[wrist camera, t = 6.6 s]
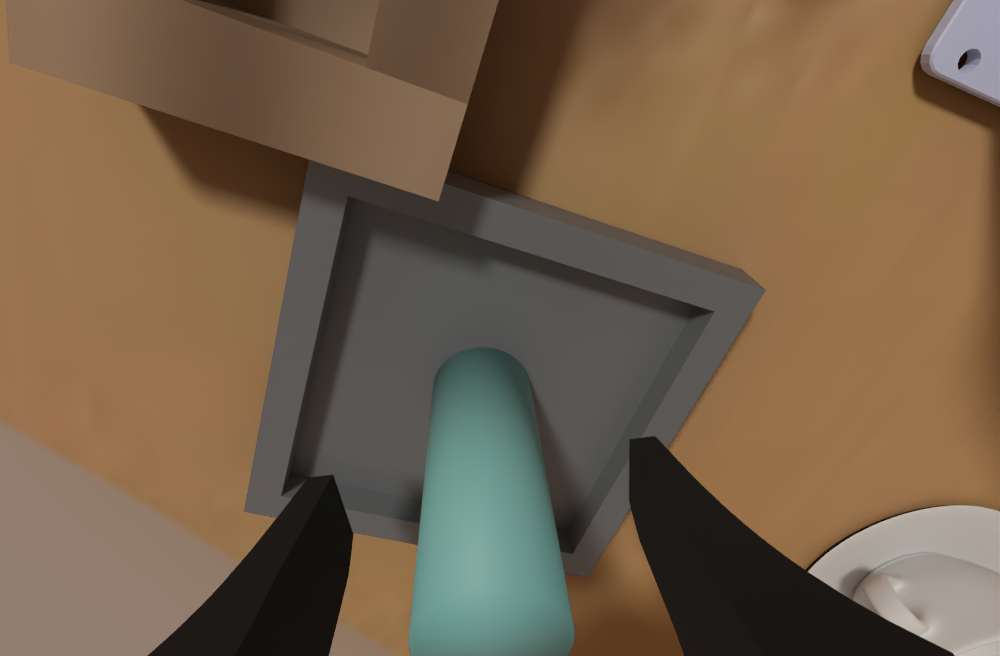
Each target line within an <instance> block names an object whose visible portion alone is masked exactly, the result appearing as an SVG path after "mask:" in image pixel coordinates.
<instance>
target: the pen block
mask: <svg viewBox="0 0 1000 656" xmlns="http://www.w3.org/2000/svg"><path fill="white" fill-rule="evenodd" d="M498 2H499V0H6V9H7V27H8V45H9V63H12V64H15V65H19V66H22V67H25V68H28V69H31V70H34V71H37V72H40V73H43V74H46V75H49V76H53V77H56V78H59V79H62V80H65V81H68V82H71V83H74V84H77V85H80V86H83V87H87V88H90V89H93V90H96V91H99V92H102V93H105V94H108V95H111V96H114V97H117V98H121V99H124V100H127V101H130V102H133V103H136V104H139V105H142V106H145V107H148V108H151V109H155V110H158V111H161V112H164V113H167V114H170V115H173V116H176V117H179V118H182V119H185V120H189V121H192V122H195V123H198V124H201V125H204V126H207V127H210V128H213V129H216V130H219V131H222V132H226V133H229V134H232V135H235V136H238V137H241V138H244V139H247V140H250V141H253V142H256V143H260V144H263V145H266V146H269V147H272V148H275V149H278V150H281V151H284V152H287V153H290V154H294V155H297V156H300V157H303V158H306V159H309V160H312V161H315V162H318V163H321V164H324V165H328V166H331V167H334V168H337V169H340V170H343V171H346V172H349V173H352V174H355V175H358V176H362V177H365V178H368V179H371V180H374V181H377V182H380V183H383V184H386V185H389V186H392V187H396V188H399V189H402V190H405V191H408V192H411V193H414V194H417V195H420V196H423V197H426V198H429V199H433V200H436V201H439V199H440V195H441V192H442V189H443V185H444V182H445V179H446V175H447V172H448V169H449V165H450V162H451V159H452V155H453V152H454V149H455V145H456V142H457V139H458V135H459V132H460V129H461V125H462V122H463V118H464V115H465V112H466V108H467V105H468V102H469V98H470V95H471V92H472V88H473V85H474V82H475V78H476V75H477V72H478V68H479V65H480V62H481V58H482V55H483V52H484V48H485V45H486V42H487V38H488V35H489V32H490V28H491V25H492V22H493V18H494V15H495V12H496V8H497V5H498Z"/></svg>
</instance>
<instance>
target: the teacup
mask: <svg viewBox="0 0 1000 656" xmlns="http://www.w3.org/2000/svg"><path fill="white" fill-rule="evenodd" d="M808 572H809V573H810V574H812V575H813V576H815V577H816V578H818V579H820V580H821V581H823V582H824V583H826V584H827V585H829V586H831V587H832V588H834V589H835V590H837V591H838V592H840V593H841V594H843V595H845V596H846V597H848V598H850V599H851V600H853V601H855V602H857V603H858V604H860V605H862V606H864V607H865V608H867V609H869V610H871V611H872V612H874V613H876V614H878V615H879V616H881V617H883V618H885V619H887V620H888V621H890V622H892V623H894V624H896V625H898V626H900V627H902V628H904V629H906V630H908V631H910V632H912V633H914V634H916V635H918V636H920V637H922V638H924V639H926V640H928V641H930V642H932V643H934V644H936V645H938V646H940V647H942V648H944V649H946V650H948V651H950V652H952V653H953V654H954V655H955V656H1000V511H997V510H993V509H989V508H985V507H979V506H965V505H953V506H941V507H933V508H927V509H922V510H918V511H913V512H909V513H906V514H902V515H899V516H896V517H893V518H890V519H888V520H885V521H882V522H880V523H877V524H875V525H873V526H871V527H869V528H867V529H865V530H863V531H861V532H859V533H857V534H855V535H853V536H851V537H850V538H848V539H846V540H845V541H843V542H842V543H840V544H839V545H837V546H836V547H835V548H833V549H832V550H830V551H829V552H828V553H827V554H825V555H824V556H823V557H822V558H821V559H820V560H819V561H818V562H816V563H815V564H814V565H813V566H812V568H811V569H810V570H809V571H808Z"/></svg>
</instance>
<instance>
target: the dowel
mask: <svg viewBox="0 0 1000 656" xmlns="http://www.w3.org/2000/svg"><path fill="white" fill-rule="evenodd" d="M574 638H575V631H574V625H573V619H572V614H571V608H570V603H569V597H568V591H567V586H566V580H565V575H564V569H563V564H562V558H561V552H560V547H559V541H558V536H557V530H556V525H555V519H554V513H553V508H552V502H551V497H550V491H549V486H548V480H547V474H546V469H545V463H544V458H543V452H542V447H541V441H540V435H539V430H538V424H537V419H536V413H535V408H534V402H533V396H532V391H531V385H530V380H529V376H528V374H527V371H526V370H525V368H524V366H523V365H522V364H521V363H520V362H519V361H518V360H517V359H516V358H514V357H513V356H512V355H510V354H508V353H506V352H504V351H501V350H498V349H494V348H486V347H479V348H472V349H467V350H464V351H461V352H459V353H457V354H455V355H453V356H452V357H450V358H449V359H448V360H446V361H445V362H444V363H443V364H442V366H441V367H440V368H439V370H438V371H437V373H436V376H435V379H434V383H433V392H432V402H431V413H430V423H429V433H428V444H427V454H426V465H425V475H424V486H423V496H422V507H421V517H420V528H419V538H418V549H417V559H416V570H415V580H414V591H413V601H412V612H411V622H410V633H409V650H410V653H411V656H568V654H569V653H570V651H571V649H572V646H573V644H574Z"/></svg>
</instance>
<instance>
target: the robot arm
mask: <svg viewBox="0 0 1000 656" xmlns="http://www.w3.org/2000/svg"><path fill="white" fill-rule="evenodd" d="M966 51H967V60H966V62H965V64H964V66H963V67H962V68H961V69H960V70H958V62H959V59H960V57H961V56H962V55H963V54H964V53H965V52H966ZM920 64H921V67H922V70H923V71H924V72H926V73H927V74H928V75H930V76H932V77H935V78H937V79H939V80H941V81H943V82H946V83H948V84H950V85H952V86H954V87H956V88H959V89H961V90H963V91H965V92H967V93H970V94H972V95H974V96H976V97H978V98H981V99H983V100H985V101H987V102H989V103H991V104H994V105H996V106H998V107H1000V0H953V2H952V3H951V5H950V6H949V8H948V10H947V11H946V13H945V14H944V16H943V18H942V19H941V21H940V22H939V24H938V26H937V27H936V29H935V30H934V32H933V33H932V35H931V37H930V38H929V40H928V41H927V43H926V45H925V47H924V49H923V51H922V53H921V61H920ZM629 502H630V506H631V510H632V514H633V518H634V521H635V525H636V529H637V532H638V536H639V539H640V542H641V545H642V547H643V550H644V553H645V555H646V558H647V560H648V563H649V565H650V568H651V570H652V573H653V575H654V578H655V580H656V583H657V585H658V588H659V590H660V593H661V595H662V598H663V600H664V603H665V605H666V608H667V610H668V613H669V615H670V618H671V620H672V623H673V625H674V628H675V630H676V633H677V636H678V639H679V642H680V644H681V647H682V650H683V653H684V656H955V655H954V654H953V653H952V652H950V651H948V650H946V649H944V648H942V647H940V646H938V645H936V644H934V643H932V642H930V641H928V640H926V639H924V638H922V637H920V636H918V635H916V634H914V633H912V632H910V631H908V630H906V629H904V628H902V627H900V626H898V625H896V624H894V623H892V622H890V621H888V620H887V619H885V618H883V617H881V616H879V615H878V614H876V613H874V612H872V611H871V610H869V609H867V608H865V607H864V606H862V605H860V604H858V603H857V602H855V601H853V600H851V599H850V598H848V597H846V596H845V595H843V594H841V593H840V592H838V591H837V590H835V589H834V588H832V587H831V586H829V585H827V584H826V583H824V582H823V581H821V580H820V579H818V578H816V577H815V576H813V575H812V574H810V573H809V572H807V571H806V570H804V569H803V568H801V567H800V566H798V565H797V564H796V563H794V562H793V561H791V560H790V559H788V558H787V557H786V556H784V555H783V554H782V553H780V552H779V551H778V550H776V549H775V548H774V547H772V546H771V545H770V544H768V543H767V542H766V541H765V540H763V539H762V538H761V537H760V536H758V535H757V534H756V533H755V532H753V531H752V530H751V529H750V528H748V527H747V526H746V525H745V524H744V523H743V522H741V521H740V520H739V519H738V518H737V517H736V516H735V515H733V514H732V513H731V512H730V511H729V510H728V509H727V508H726V507H724V506H723V505H722V504H721V503H720V502H719V501H718V500H717V499H716V498H715V497H714V496H713V495H712V494H711V493H710V492H709V491H708V490H706V489H705V488H704V487H703V486H702V485H701V484H700V483H699V482H698V481H697V480H696V479H695V478H694V477H693V476H692V475H691V474H690V473H689V472H688V471H687V470H686V468H685V467H684V466H683V465H682V464H681V463H680V462H679V461H678V460H677V459H676V458H675V457H674V456H673V455H672V454H671V452H670V451H669V450H668V449H667V448H666V447H665V446H664V445H663V443H662V442H661V441H660V440H659V439H658V438H656V437H655V436H651V437H643V438H635V439H629ZM352 541H353V531H352V528H351V525H350V522H349V519H348V517H347V514H346V511H345V508H344V505H343V502H342V499H341V496H340V493H339V490H338V487H337V484H336V481H335V478H334V475H325V476H317V477H309V478H308V479H307V480H306V481H305V482H304V483H303V485H302V486H301V487H300V489H299V490H298V491H297V492H296V494H295V495H294V496H293V498H292V499H291V500H290V501H289V503H288V504H287V505H286V507H285V508H284V509H283V511H282V512H281V513H280V514H279V516H278V517H277V518H276V520H275V521H274V522H273V524H272V525H271V526H270V527H269V529H268V530H267V531H266V532H265V534H264V535H263V536H262V537H261V538H260V540H259V541H258V542H257V543H256V545H255V546H254V547H253V548H252V550H251V551H250V552H249V553H248V555H247V556H246V557H245V558H244V559H243V560H242V562H241V563H240V564H239V565H238V566H237V567H236V568H235V570H234V571H233V572H232V573H231V574H230V575H229V577H228V578H227V579H226V580H225V581H224V582H223V583H222V584H221V585H220V587H219V588H218V589H217V590H216V591H215V592H214V593H213V594H212V595H211V596H210V597H209V598H208V599H207V600H206V601H205V603H204V604H203V605H202V606H201V607H200V608H199V609H197V611H196V612H194V613H193V614H192V615H191V616H190V617H189V618H188V619H187V620H186V621H185V622H184V623H183V624H182V625H181V626H180V627H179V628H178V629H177V630H176V631H175V632H174V633H173V634H172V635H170V636H169V637H168V638H167V639H166V640H165V641H164V642H163V643H162V644H160V645H159V646H158V647H157V648H156V649H155V650H154V651H152V652H151V653H150V654H149V655H148V656H329V652H330V648H331V644H332V640H333V636H334V632H335V628H336V624H337V620H338V616H339V612H340V608H341V604H342V600H343V596H344V591H345V587H346V583H347V579H348V574H349V566H350V559H351V550H352Z"/></svg>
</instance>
